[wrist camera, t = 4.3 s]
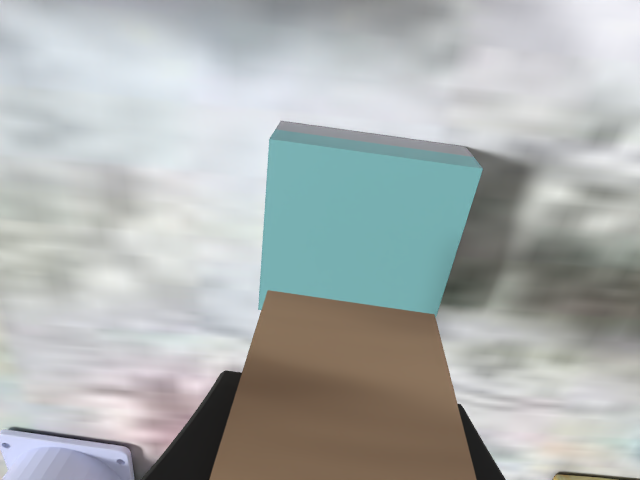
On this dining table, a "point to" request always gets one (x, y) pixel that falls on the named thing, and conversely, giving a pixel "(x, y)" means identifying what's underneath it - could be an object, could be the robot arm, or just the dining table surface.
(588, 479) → the beige wooden board
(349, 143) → the base brick
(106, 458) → the robot arm
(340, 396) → the walnut block
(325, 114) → the dining table surface
